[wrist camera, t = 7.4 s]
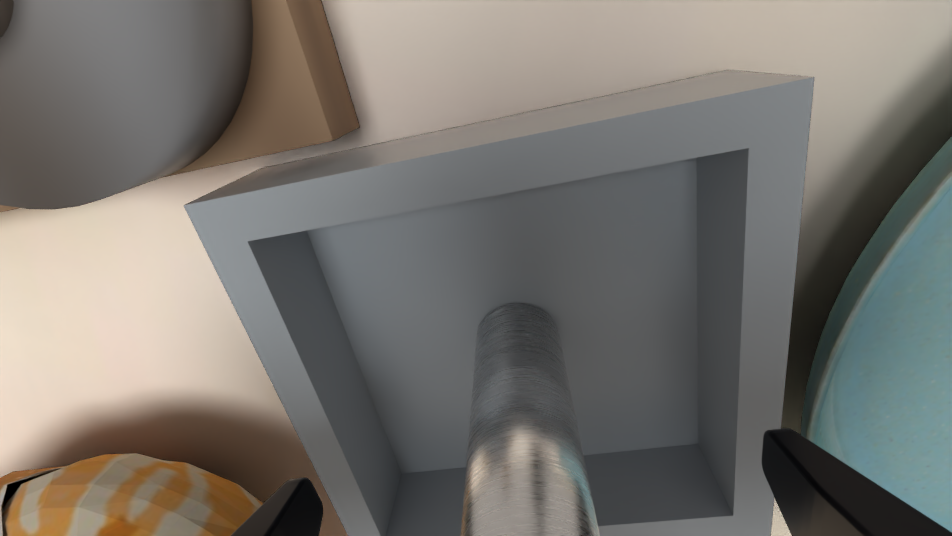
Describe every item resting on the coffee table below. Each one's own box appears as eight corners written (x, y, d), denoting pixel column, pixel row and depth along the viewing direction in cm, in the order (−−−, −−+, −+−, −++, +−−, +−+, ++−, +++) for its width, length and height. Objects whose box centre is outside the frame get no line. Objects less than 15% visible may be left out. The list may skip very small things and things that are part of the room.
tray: (727, 69, 11) (814, 76, 8) (719, 443, 16) (770, 536, 13) (261, 168, 12) (183, 205, 9) (387, 477, 17) (362, 565, 14)
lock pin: (563, 285, 12) (673, 719, 4) (575, 371, 14) (677, 822, 6) (455, 302, 13) (385, 727, 5) (477, 384, 14) (449, 823, 6)
